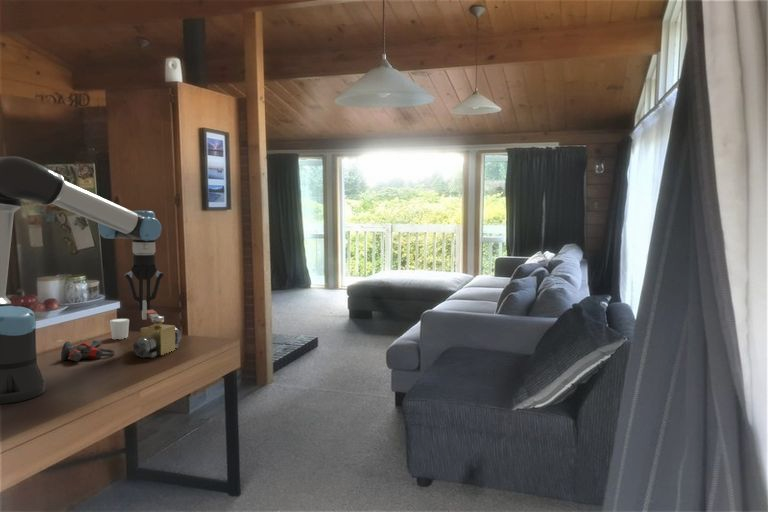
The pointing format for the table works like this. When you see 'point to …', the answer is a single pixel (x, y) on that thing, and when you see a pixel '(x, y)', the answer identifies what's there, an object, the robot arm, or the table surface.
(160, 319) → the lever
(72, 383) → the table surface
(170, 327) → the pipe valve
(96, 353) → the valve
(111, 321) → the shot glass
